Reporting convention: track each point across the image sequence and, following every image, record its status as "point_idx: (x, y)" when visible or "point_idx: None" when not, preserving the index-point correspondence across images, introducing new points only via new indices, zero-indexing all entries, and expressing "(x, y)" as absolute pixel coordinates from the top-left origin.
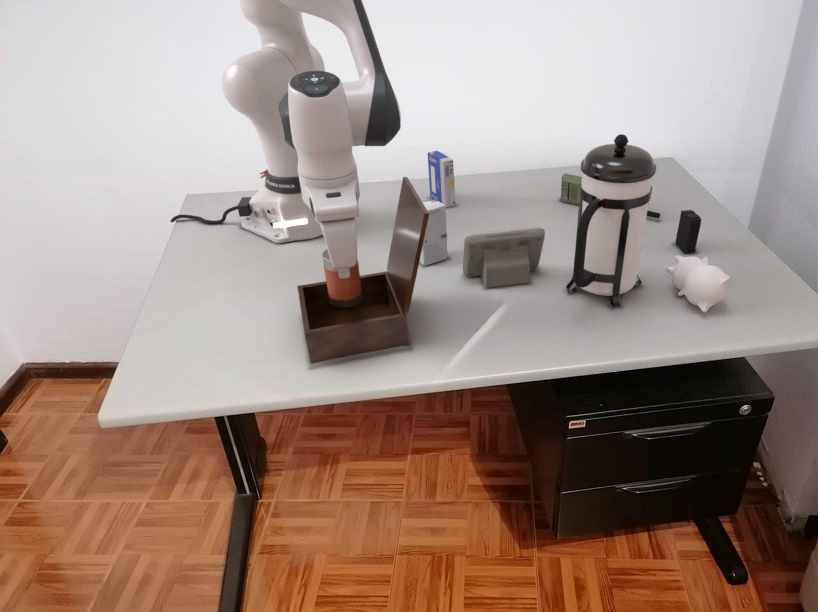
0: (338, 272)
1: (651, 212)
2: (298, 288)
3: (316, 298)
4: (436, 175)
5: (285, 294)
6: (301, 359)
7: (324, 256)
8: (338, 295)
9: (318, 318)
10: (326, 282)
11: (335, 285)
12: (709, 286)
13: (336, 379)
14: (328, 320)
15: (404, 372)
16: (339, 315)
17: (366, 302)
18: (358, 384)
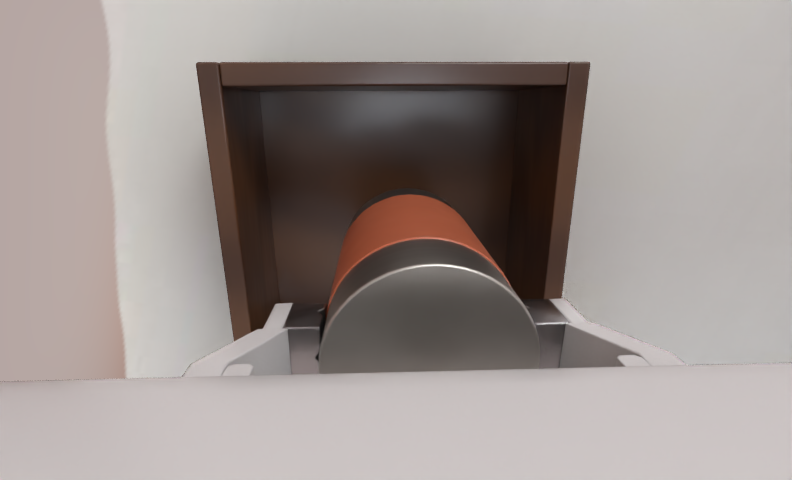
0: (268, 318)
1: None
2: (565, 66)
3: (537, 131)
4: None
5: (706, 19)
6: (295, 44)
7: (412, 276)
8: (345, 239)
9: (487, 122)
10: (414, 208)
11: (345, 250)
12: None
13: (171, 142)
14: (463, 153)
15: (173, 317)
16: (478, 190)
17: (507, 279)
18: (138, 199)
